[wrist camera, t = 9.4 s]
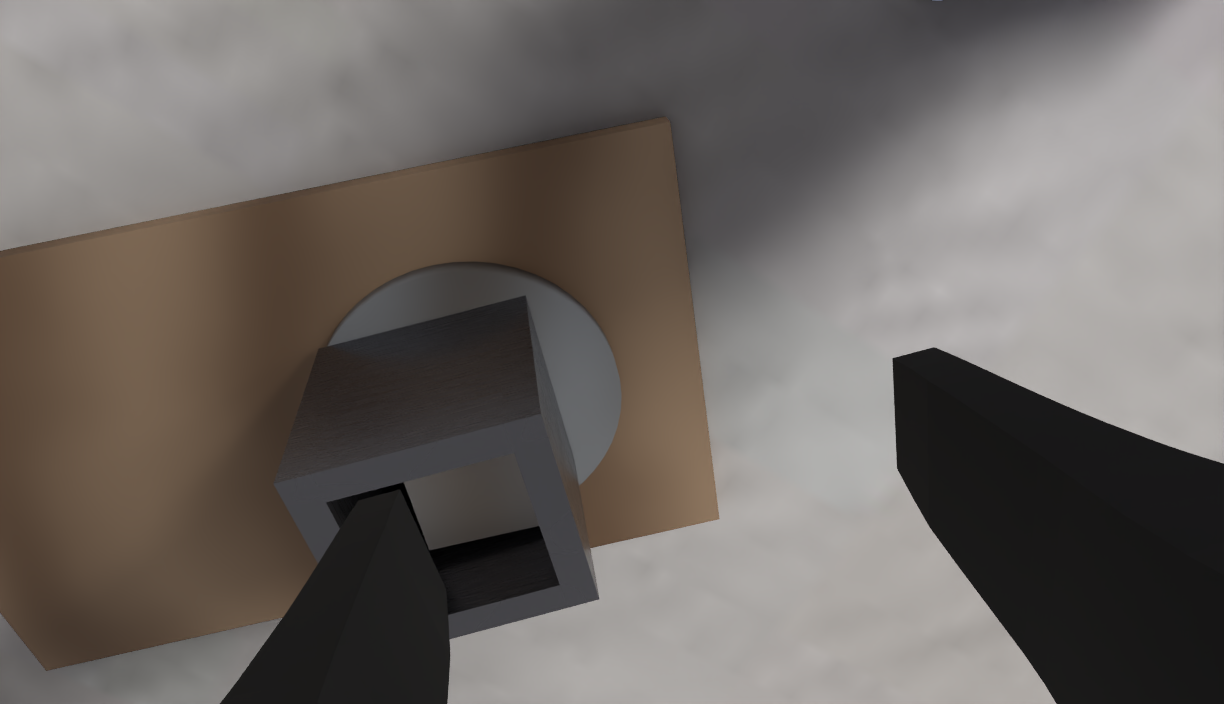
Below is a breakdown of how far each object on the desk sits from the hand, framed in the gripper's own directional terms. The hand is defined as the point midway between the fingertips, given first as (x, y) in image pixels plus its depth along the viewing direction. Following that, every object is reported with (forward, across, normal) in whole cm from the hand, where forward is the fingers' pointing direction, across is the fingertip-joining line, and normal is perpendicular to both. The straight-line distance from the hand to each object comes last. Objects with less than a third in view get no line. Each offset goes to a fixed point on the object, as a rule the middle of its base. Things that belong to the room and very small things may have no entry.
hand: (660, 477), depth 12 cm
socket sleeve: (+8, +4, +3) cm, 10 cm away
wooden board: (+10, +8, +3) cm, 13 cm away
